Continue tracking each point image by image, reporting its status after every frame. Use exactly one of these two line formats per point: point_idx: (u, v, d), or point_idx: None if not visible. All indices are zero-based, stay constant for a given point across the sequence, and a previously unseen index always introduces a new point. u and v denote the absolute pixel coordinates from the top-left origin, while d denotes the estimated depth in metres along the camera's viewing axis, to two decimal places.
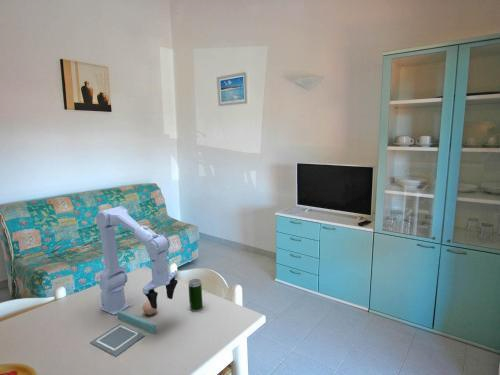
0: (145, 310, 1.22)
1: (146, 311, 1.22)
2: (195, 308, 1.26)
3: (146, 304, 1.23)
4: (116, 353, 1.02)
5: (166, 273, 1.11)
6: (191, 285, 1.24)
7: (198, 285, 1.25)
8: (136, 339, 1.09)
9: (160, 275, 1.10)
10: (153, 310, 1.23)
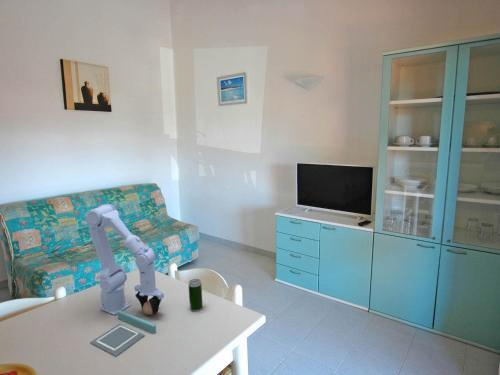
0: (145, 310, 1.22)
1: (146, 311, 1.22)
2: (195, 308, 1.26)
3: (146, 304, 1.23)
4: (116, 353, 1.02)
5: (143, 286, 1.20)
6: (191, 285, 1.24)
7: (198, 285, 1.25)
8: (136, 339, 1.09)
9: None
10: None
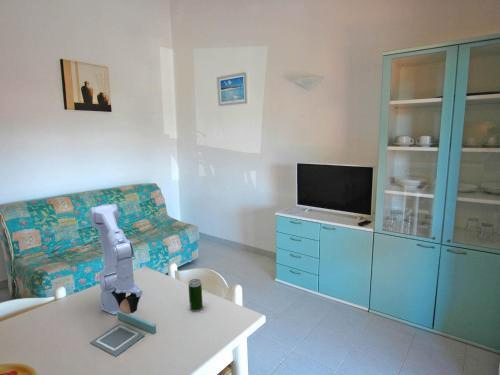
0: (122, 309, 1.11)
1: (123, 310, 1.11)
2: (195, 308, 1.26)
3: (123, 302, 1.11)
4: (116, 353, 1.02)
5: (120, 282, 1.09)
6: (191, 285, 1.24)
7: (198, 285, 1.25)
8: (136, 339, 1.09)
9: (116, 280, 1.10)
10: None
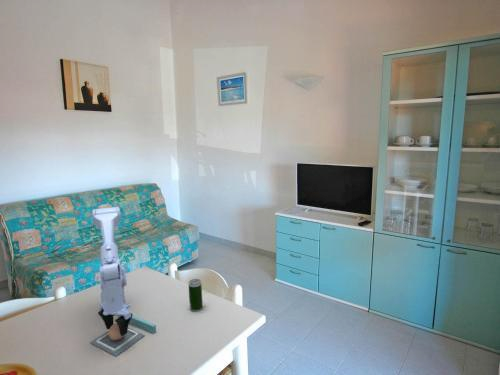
0: (111, 335, 1.07)
1: (112, 336, 1.07)
2: (195, 308, 1.26)
3: (112, 328, 1.07)
4: (116, 353, 1.02)
5: (107, 303, 1.04)
6: (191, 285, 1.24)
7: (198, 285, 1.25)
8: (136, 339, 1.09)
9: (104, 301, 1.06)
10: (120, 335, 1.07)
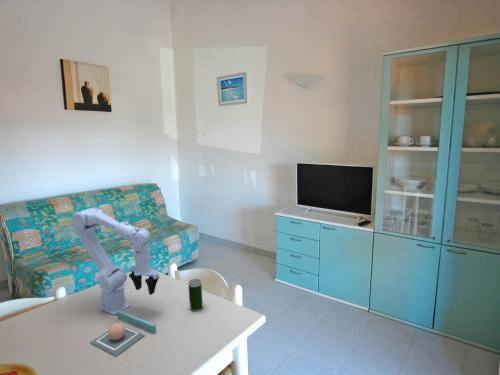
0: (110, 335, 1.07)
1: (111, 336, 1.07)
2: (195, 308, 1.26)
3: (111, 328, 1.07)
4: (116, 353, 1.02)
5: (138, 265, 1.20)
6: (191, 285, 1.24)
7: (198, 285, 1.25)
8: (136, 339, 1.09)
9: (135, 264, 1.21)
10: (120, 335, 1.07)
